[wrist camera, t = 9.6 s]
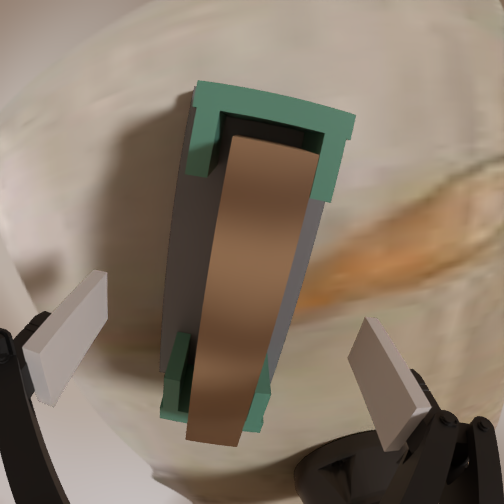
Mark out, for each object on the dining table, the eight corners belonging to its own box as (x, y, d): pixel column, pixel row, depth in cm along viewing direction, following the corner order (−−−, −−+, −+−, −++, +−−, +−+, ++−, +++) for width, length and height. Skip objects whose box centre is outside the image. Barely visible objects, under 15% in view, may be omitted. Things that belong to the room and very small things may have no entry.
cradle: (267, 379, 26) (272, 436, 20) (162, 362, 25) (146, 417, 19) (339, 118, 18) (377, 115, 13) (197, 88, 18) (176, 71, 12)
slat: (238, 362, 24) (236, 446, 16) (199, 355, 23) (185, 439, 16) (288, 144, 18) (319, 154, 10) (238, 134, 18) (232, 136, 10)
